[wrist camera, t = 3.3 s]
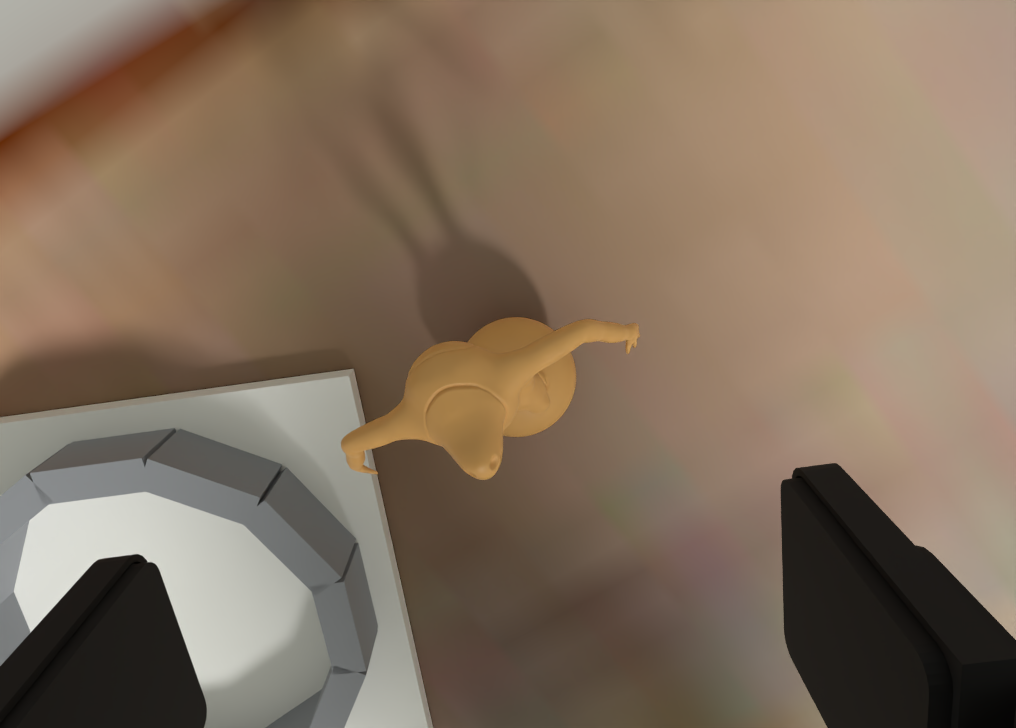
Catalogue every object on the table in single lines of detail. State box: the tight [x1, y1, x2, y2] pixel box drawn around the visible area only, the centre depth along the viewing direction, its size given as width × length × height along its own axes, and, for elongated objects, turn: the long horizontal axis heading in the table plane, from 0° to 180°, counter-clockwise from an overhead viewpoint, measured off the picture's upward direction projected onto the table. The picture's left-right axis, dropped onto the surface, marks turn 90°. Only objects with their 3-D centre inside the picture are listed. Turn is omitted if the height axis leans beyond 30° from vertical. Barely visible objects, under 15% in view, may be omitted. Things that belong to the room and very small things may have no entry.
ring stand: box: [0, 369, 433, 728], centre depth 28 cm, size 17×17×3 cm
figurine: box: [341, 317, 640, 480], centre depth 20 cm, size 8×6×12 cm
